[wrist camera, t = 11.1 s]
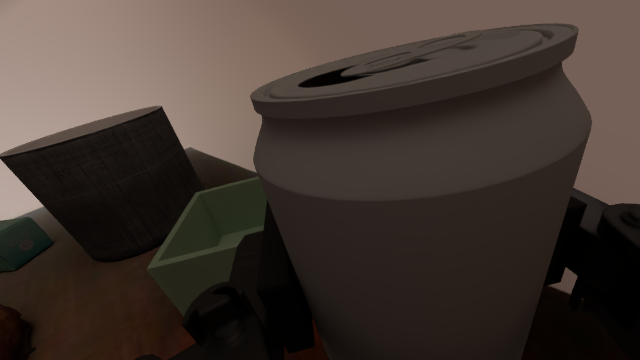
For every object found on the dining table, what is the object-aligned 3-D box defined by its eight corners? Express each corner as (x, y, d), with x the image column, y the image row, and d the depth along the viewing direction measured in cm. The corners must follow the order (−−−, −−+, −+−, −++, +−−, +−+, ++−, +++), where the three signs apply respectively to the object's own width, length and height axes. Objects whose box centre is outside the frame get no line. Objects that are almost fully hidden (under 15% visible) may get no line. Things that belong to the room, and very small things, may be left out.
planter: (73, 246, 50) (-13, 154, 40) (174, 186, 65) (130, 109, 55) (119, 279, 38) (13, 159, 28) (230, 196, 53) (185, 101, 44)
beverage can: (339, 297, 14) (273, 70, 8) (463, 289, 13) (482, 18, 7) (335, 465, 9) (137, 137, 3) (550, 480, 7) (916, -31, 2)
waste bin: (307, 216, 41) (292, 167, 37) (316, 292, 28) (295, 231, 24) (220, 238, 41) (195, 192, 37) (189, 324, 28) (146, 269, 24)
